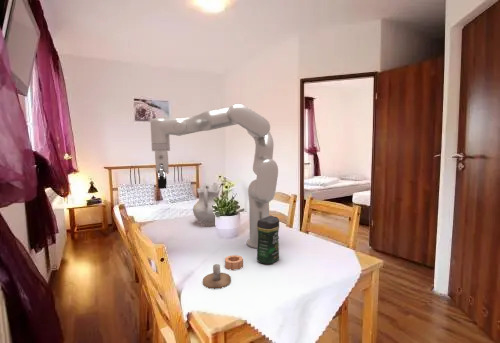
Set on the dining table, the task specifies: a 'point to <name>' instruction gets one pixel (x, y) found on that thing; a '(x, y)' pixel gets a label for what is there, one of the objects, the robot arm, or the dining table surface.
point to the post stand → (216, 278)
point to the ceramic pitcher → (206, 204)
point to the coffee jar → (268, 240)
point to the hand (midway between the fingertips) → (162, 186)
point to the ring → (233, 262)
